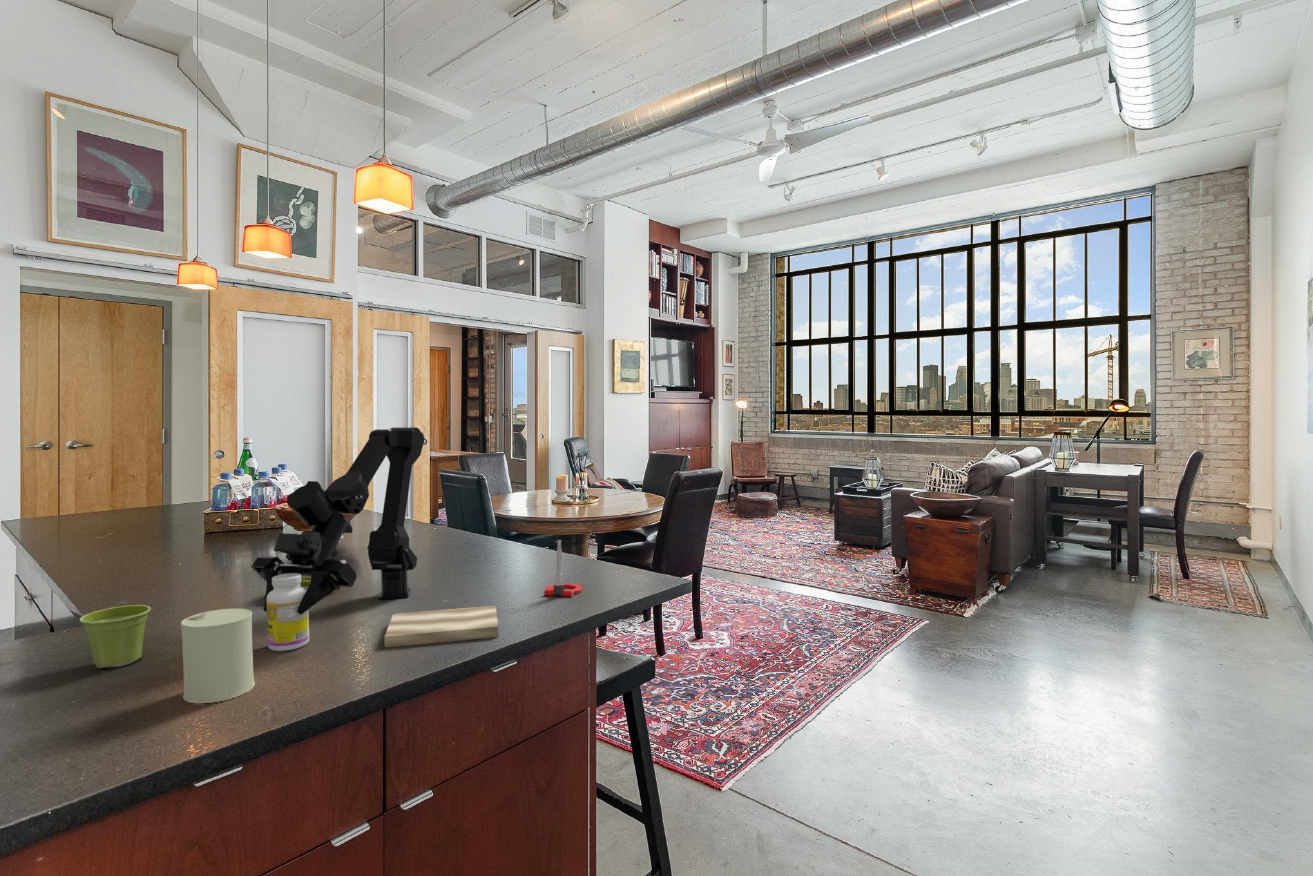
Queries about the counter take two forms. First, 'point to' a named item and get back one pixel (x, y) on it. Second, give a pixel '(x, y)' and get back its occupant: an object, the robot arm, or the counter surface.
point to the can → (217, 655)
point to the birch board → (441, 626)
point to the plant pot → (116, 633)
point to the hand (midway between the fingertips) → (282, 612)
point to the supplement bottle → (286, 614)
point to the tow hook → (559, 587)
